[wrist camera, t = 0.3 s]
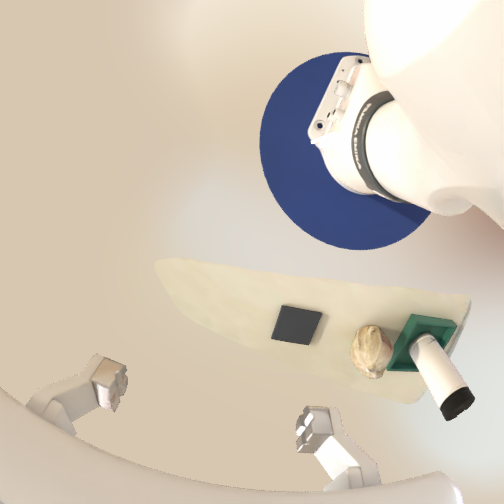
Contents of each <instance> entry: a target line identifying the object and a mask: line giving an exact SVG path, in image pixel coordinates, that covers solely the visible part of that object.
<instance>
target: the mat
mask: <svg viewBox="0 0 504 504" xmlns="http://www.w3.org/2000/svg"><path fill="white" fill-rule="evenodd" d="M321 315H322V313H321V312H315V311H310V310H304V309H299V308H294V307H289V306H284V305H282V307H281V310H280V313H279V316H278V319H277V322H276V325H275V328H274V331H273V334H272V337H271V339H274V340H280V341H286V342H291V343H298V344H304V345H309V344H310V341H311V339H312V337H313V334H314V332H315V330H316V327H317V325H318V322H319V320H320V318H321Z"/></svg>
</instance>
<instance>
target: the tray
mask: <svg viewBox="0 0 504 504" xmlns="http://www.w3.org/2000/svg"><path fill="white" fill-rule="evenodd" d="M456 328H457V325H456V324H455V323H454V322H453V321H452V320H447V319H441V318H434V317H428V316H421V315H415V314H411V316H410V318H409V320H408V322H407V324H406V325H405V327H404V329H403V331H402V333H401V335H400V336H399V338H398V340H397V342H396V344H395V345H394V347H393V355H392V358H391V360H390V362H389V363H388V365H387V367H386V369H387V371H412V372H420V371H419V370H418V368H417V366H416V364H415V363H414V361H413V359H412V357H411V356H410V354H409V352H408V349H409V345H410V343H411V342H412V340H413V339H414V338H415V337H416V336H418V335H420V334H422V333H425V332H428V333H431V334H432V335H433V337H434V338H435V339H436V341H437V342H438V343H439V345H440V346H441V348H442V349H443V350H444V348H445V346H446V345H447V343H448V342H449V340H450V338H451V336H452V335H453V333H454V331H455V330H456Z"/></svg>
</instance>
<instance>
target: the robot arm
mask: <svg viewBox="0 0 504 504" xmlns="http://www.w3.org/2000/svg"><path fill="white" fill-rule="evenodd" d="M363 21H364V32H365V40H366V45H367V48H368V53H369V57H365V56H346V57H344V58H342V59H341V61H340V62H339V65H338V67H337V69H336V71H335V73H334V75H333V77H332V79H331V81H330V84H329V86H328V88H327V90H326V92H325V94H324V96H323V98H322V101H321V103H320V105H319V107H318V109H317V111H316V113H315V116H314V118H313V120H312V122H311V124H310V126H309V128H308V136H309V138H310V139H311V143H312V144H313V143H314V144H315V145H316V146H317V147H318V148H319V150H320V152H321V154H322V157H323V159H324V162H325V165H326V167H327V169H328V171H329V172H330V174H331V175H332V177H333V178H334V179H335V180H336V181H337V182H338V183H339V184H340V185H341V186H343V187H344V188H346V189H347V190H349V191H351V192H354V193H357V194H361V195H374V194H378V195H380V196H382V197H384V198H387V199H389V200H392V201H395V202H402V203H408V204H415V205H417V206H420V207H422V208H424V209H427V210H429V211H431V212H434V213H436V214H438V215H442V216H455V215H459V214H461V213H464V212H466V211H467V210H469V209H470V208H471V207H472V206H473V205H475V206H477V207H478V208H480V209H481V210H482V211H483V212H485V213H486V214H487V215H488V216H489V217H490V218H491V219H493V220H494V221H495V222H496V223H497V224H498V225H499V226H500V227H501V228H502V229H503V230H504V0H364V6H363ZM358 60H360V61H361V62H362V63H361V64H360V63H359V62H358ZM337 82H338V83H337ZM318 123H320V124H321V125H322V128H321V129H320V128H318V127H317V124H318ZM126 371H127V369H126V365H123V364H121V363H118V362H115V361H113V360H111V359H108V358H106V357H104V356H101V355H99V354H95V355H94V356H93V357H92V359H91V360H90V361H89V363H88V364H87V366H86V367H85V368H84V370H83V371H82V372H81V374H80V375H74V376H72V377H69V378H66V379H64V380H61V381H58V382H56V383H53V384H50V385H47V386H45V387H42V388H39V389H38V390H37V391H36V392H35V394H34V395H33V397H32V398H31V399H30V401H29V402H28V403H27V405H26V406H24V405H23V404H21V403H20V402H19V401H17V400H16V399H14V398H13V397H12V396H11V395H9V394H8V393H7V392H6V391H4V390H3V389H2V388H1V387H0V504H464V502H463V498H462V494H461V491H460V488H459V486H458V484H457V483H456V482H455V481H454V480H452V479H451V478H450V477H448V476H447V475H445V474H444V473H442V472H440V471H436V472H432V473H429V474H425V475H422V476H418V477H414V478H410V479H406V480H402V481H398V482H392V483H387V484H381V479H380V475H379V471H378V467H377V464H376V463H375V462H374V461H373V460H372V459H371V458H370V457H369V456H368V455H367V454H366V453H365V452H364V451H363V450H362V449H361V448H360V447H359V446H358V445H357V444H356V443H355V442H354V441H353V440H352V439H351V438H350V437H349V436H348V435H345V434H344V429H343V425H342V420H341V416H340V411H339V409H338V408H331V407H318V406H306V407H305V408H304V410H303V413H304V414H302V415H300V416H299V418H298V420H297V423H296V434H297V435H298V436H299V438H298V440H297V441H296V442H297V452H300V453H315V454H314V455H315V456H316V457H317V459H318V460H319V462H320V463H321V464H322V466H323V467H324V468H325V470H326V471H327V473H328V474H329V475H330V477H331V478H332V479H333V481H332V482H330V483H329V484H327V485H326V486H325V487H324V491H316V492H285V491H265V490H253V489H244V488H236V487H229V486H223V485H217V484H211V483H205V482H201V481H196V480H191V479H187V478H183V477H179V476H175V475H171V474H168V473H165V472H161V471H158V470H155V469H151V468H148V467H145V466H142V465H139V464H137V463H134V462H131V461H128V460H126V459H123V458H120V457H118V456H116V455H113V454H111V453H108V452H106V451H104V450H102V449H99V448H97V447H95V446H93V445H91V444H89V443H86V442H84V441H83V440H81V439H79V438H77V437H75V435H76V431H75V429H74V427H73V425H72V423H71V422H73V421H74V420H76V419H78V418H80V417H81V416H83V415H85V414H87V413H88V412H90V411H92V410H94V409H95V408H97V407H98V405H99V406H101V407H104V408H106V409H109V410H111V411H114V412H115V411H116V409H117V407H118V405H119V403H120V398H119V397H120V396H122V395H124V393H125V391H126V388H127V385H128V378H127V376H126V374H125V373H126Z"/></svg>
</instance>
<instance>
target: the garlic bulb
mask: <svg viewBox="0 0 504 504" xmlns="http://www.w3.org/2000/svg"><path fill="white" fill-rule="evenodd" d="M392 355H393V346H392V343H391V341H390V340H389V338H388V337H386V336H385V335H384V333H383V332H382V331H381V330H380V329H379V328H378V327H377V326H367V327H364V328H361V329H359V330H358V331H357V334H356V336H355V338H354V340H353V342H352V345H351V350H350V357H351V360H352V362H353V364H354V365H355V366H356V368H357V369H358V370H360V371H362V374H363V375H364V376H366V377H368V378H369V379H378V378H381V377H382V375H383V373H384V370H385V368H386V367H387V365H388V363H389V362H390V360H391V358H392Z"/></svg>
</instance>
